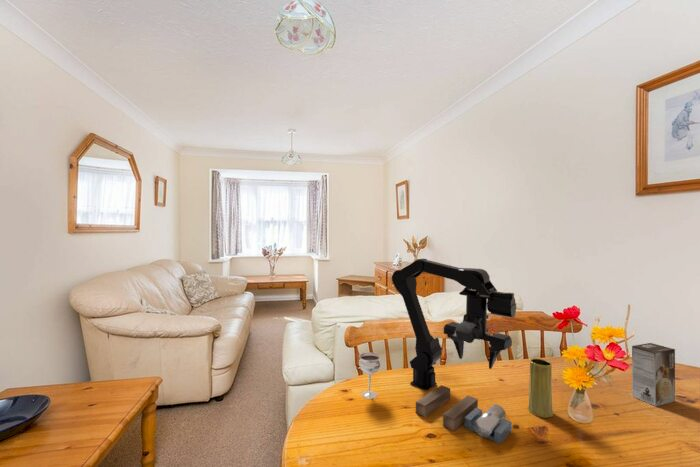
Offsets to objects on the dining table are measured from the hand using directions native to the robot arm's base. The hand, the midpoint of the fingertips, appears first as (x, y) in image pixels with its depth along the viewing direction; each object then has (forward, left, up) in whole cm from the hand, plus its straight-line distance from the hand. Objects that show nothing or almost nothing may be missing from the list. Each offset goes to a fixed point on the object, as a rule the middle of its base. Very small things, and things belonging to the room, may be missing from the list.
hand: (475, 363), depth 95 cm
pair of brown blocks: (-3, -11, -12) cm, 16 cm away
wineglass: (-25, -20, -12) cm, 34 cm away
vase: (+15, +8, -12) cm, 21 cm away
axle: (+9, -11, -9) cm, 17 cm away
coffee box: (+37, +41, -12) cm, 57 cm away
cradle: (+8, -11, -12) cm, 18 cm away
